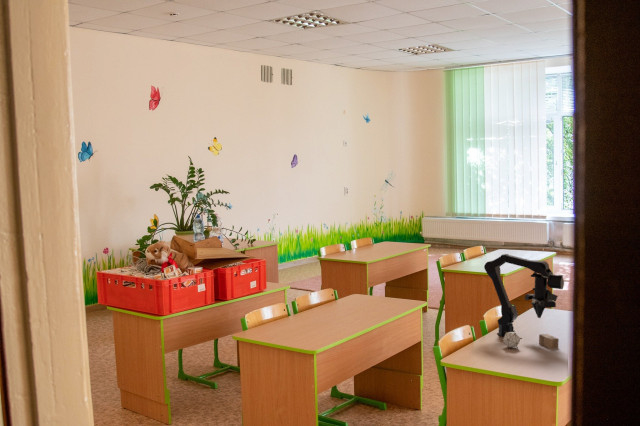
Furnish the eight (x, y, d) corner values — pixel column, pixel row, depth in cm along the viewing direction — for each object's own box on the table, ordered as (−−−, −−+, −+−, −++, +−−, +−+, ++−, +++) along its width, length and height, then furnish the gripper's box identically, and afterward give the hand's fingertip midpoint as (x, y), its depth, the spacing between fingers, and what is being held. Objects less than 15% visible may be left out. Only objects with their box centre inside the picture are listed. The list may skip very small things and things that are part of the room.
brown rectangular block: (538, 343, 287) (549, 348, 279) (539, 334, 287) (550, 339, 278) (547, 342, 288) (558, 348, 280) (547, 333, 288) (558, 338, 279)
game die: (514, 356, 278) (523, 343, 271) (497, 349, 279) (505, 335, 273) (516, 343, 285) (525, 330, 278) (499, 336, 286) (507, 322, 280)
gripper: (566, 290, 282) (565, 322, 283) (544, 282, 300) (543, 313, 301) (545, 290, 280) (544, 322, 281) (524, 283, 298) (523, 313, 299)
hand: (539, 317), depth 291 cm, fingers closed
